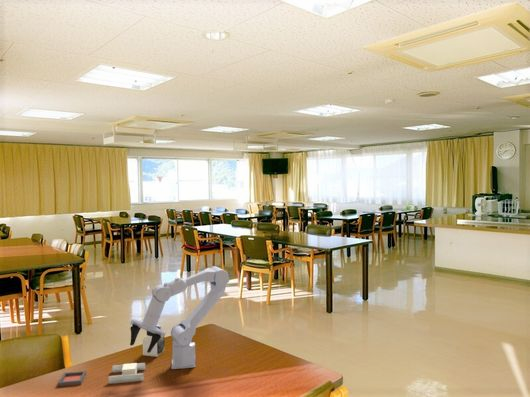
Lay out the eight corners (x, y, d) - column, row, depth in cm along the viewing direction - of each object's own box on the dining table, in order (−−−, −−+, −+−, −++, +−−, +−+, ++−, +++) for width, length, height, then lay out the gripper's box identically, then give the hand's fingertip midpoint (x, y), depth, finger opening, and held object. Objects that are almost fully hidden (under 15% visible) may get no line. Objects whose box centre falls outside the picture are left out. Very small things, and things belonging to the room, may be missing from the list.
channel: (145, 368, 167) (145, 362, 167) (143, 380, 157) (142, 374, 157) (112, 371, 164) (112, 365, 164) (108, 383, 154) (108, 377, 154)
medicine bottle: (157, 357, 178) (157, 329, 177) (142, 355, 179) (142, 328, 179) (164, 350, 185) (164, 324, 184) (150, 348, 186) (150, 322, 186)
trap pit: (86, 374, 162) (85, 370, 162) (81, 384, 154) (81, 380, 154) (64, 376, 160) (64, 372, 160) (58, 386, 152) (58, 382, 152)
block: (136, 372, 164) (136, 362, 164) (135, 378, 159) (135, 368, 159) (123, 373, 163) (123, 364, 163) (122, 379, 158) (121, 369, 158)
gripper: (132, 309, 161) (119, 343, 159) (165, 322, 158) (152, 357, 156) (140, 308, 168) (127, 340, 166) (171, 320, 165) (159, 353, 163)
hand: (140, 348), depth 162 cm, fingers open, 7 cm apart
